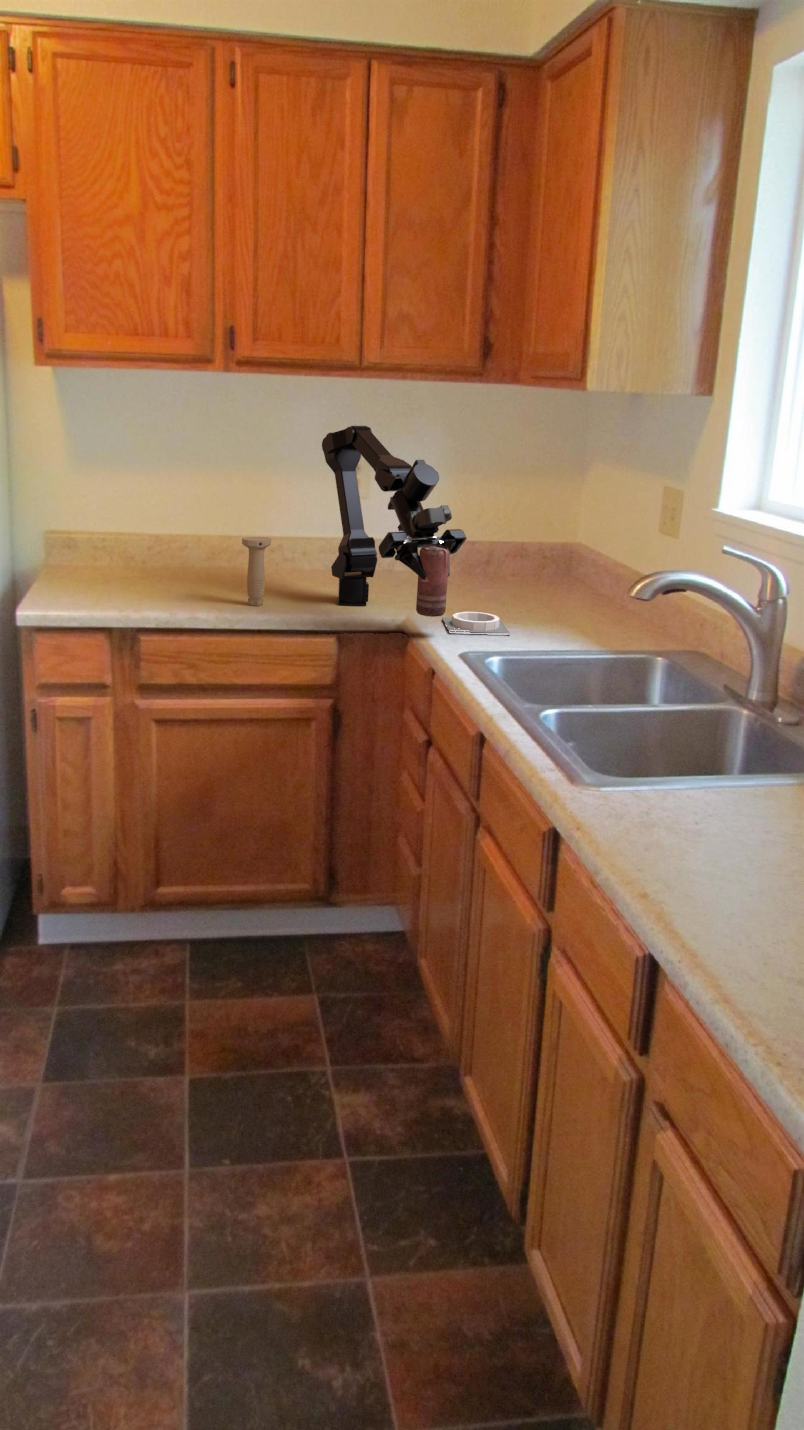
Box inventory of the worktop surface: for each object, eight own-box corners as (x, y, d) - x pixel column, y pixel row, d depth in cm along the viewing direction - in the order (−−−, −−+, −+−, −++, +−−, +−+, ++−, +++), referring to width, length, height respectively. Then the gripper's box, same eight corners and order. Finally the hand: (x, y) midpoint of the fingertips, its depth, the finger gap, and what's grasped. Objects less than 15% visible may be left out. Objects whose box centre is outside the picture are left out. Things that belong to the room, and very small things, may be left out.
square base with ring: (449, 634, 256) (449, 623, 255) (442, 619, 268) (442, 609, 268) (509, 635, 257) (510, 624, 257) (499, 621, 270) (500, 611, 269)
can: (436, 618, 248) (441, 551, 243) (410, 613, 251) (414, 546, 246) (451, 613, 253) (456, 547, 248) (425, 608, 256) (429, 542, 251)
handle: (272, 606, 273) (274, 540, 268) (245, 607, 270) (246, 541, 265) (265, 601, 277) (266, 536, 272) (238, 603, 274) (239, 537, 269)
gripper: (388, 492, 243) (414, 557, 237) (465, 490, 252) (491, 552, 247) (367, 525, 251) (391, 588, 246) (441, 522, 261) (466, 582, 255)
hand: (436, 577), depth 248 cm, fingers closed on can, 5 cm apart
